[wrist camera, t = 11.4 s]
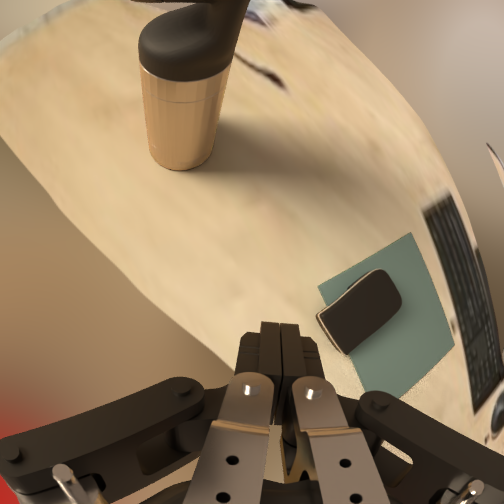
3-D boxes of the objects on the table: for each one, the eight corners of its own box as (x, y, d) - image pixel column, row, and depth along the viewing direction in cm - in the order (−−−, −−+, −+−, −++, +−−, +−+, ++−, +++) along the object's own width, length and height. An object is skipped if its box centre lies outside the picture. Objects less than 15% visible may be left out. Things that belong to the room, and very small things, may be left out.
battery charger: (335, 353, 39) (393, 304, 41) (346, 358, 35) (407, 304, 37) (309, 313, 40) (370, 265, 42) (317, 314, 36) (383, 262, 38)
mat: (317, 286, 40) (318, 286, 40) (409, 232, 46) (410, 232, 46) (375, 415, 37) (376, 416, 37) (453, 344, 43) (454, 344, 43)
